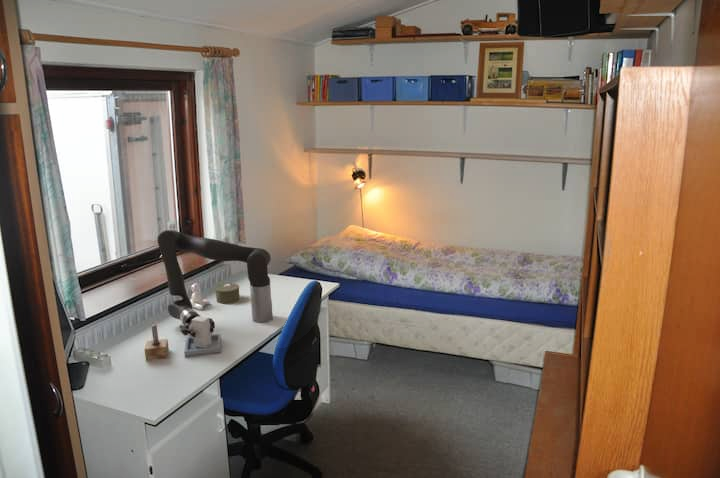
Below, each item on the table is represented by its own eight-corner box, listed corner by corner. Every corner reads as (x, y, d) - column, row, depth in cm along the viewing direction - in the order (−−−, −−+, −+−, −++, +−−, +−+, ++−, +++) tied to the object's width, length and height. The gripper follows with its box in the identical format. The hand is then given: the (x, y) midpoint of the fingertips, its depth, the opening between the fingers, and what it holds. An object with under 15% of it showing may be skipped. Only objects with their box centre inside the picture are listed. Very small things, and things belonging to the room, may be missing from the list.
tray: (220, 339, 243) (220, 333, 242) (220, 353, 230) (220, 347, 229) (187, 342, 240) (186, 337, 239) (184, 357, 226) (184, 351, 226)
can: (215, 305, 283) (214, 292, 281) (216, 296, 294) (215, 284, 293) (239, 303, 285) (238, 290, 283) (240, 295, 296) (239, 282, 295)
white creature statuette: (201, 310, 276) (199, 287, 273) (185, 309, 277) (183, 286, 274) (210, 303, 285) (208, 281, 282) (195, 302, 286) (192, 280, 283)
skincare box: (212, 344, 235) (209, 317, 232) (206, 348, 231) (203, 321, 228) (199, 342, 237) (197, 315, 234) (193, 346, 233) (191, 319, 230)
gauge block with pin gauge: (168, 349, 233) (165, 320, 230) (166, 358, 226) (163, 328, 223) (148, 352, 232) (144, 322, 228) (145, 360, 224) (142, 330, 221)
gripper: (173, 315, 240) (185, 328, 226) (206, 307, 247) (219, 320, 234) (175, 331, 241) (186, 345, 228) (207, 323, 249) (221, 336, 236)
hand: (203, 332), depth 231 cm, fingers closed on skincare box, 6 cm apart
